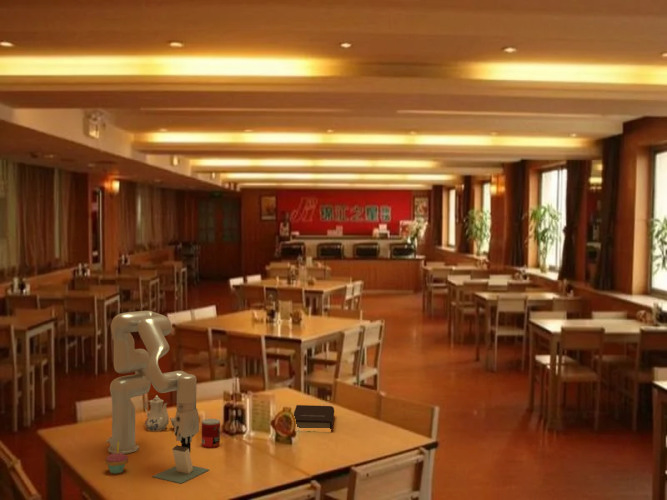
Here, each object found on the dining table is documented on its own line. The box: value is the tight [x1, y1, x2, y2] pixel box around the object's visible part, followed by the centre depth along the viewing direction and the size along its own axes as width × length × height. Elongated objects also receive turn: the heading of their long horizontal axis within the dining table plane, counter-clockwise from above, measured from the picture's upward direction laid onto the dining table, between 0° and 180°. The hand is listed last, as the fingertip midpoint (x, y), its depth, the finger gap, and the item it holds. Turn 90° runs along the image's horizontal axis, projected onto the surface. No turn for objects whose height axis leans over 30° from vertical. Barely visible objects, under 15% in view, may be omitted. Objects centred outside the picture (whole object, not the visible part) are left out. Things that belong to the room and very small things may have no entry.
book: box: [293, 404, 335, 430], centre depth 348 cm, size 28×20×6 cm
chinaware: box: [143, 394, 175, 432], centre depth 337 cm, size 28×17×17 cm, turn 56°
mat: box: [152, 465, 210, 485], centre depth 275 cm, size 14×17×1 cm
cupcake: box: [104, 440, 129, 475], centre depth 276 cm, size 9×8×12 cm
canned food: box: [201, 418, 221, 449], centre depth 311 cm, size 8×8×11 cm
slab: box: [172, 445, 193, 474], centre depth 275 cm, size 6×3×10 cm, turn 62°
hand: (185, 452), depth 277 cm, fingers closed
